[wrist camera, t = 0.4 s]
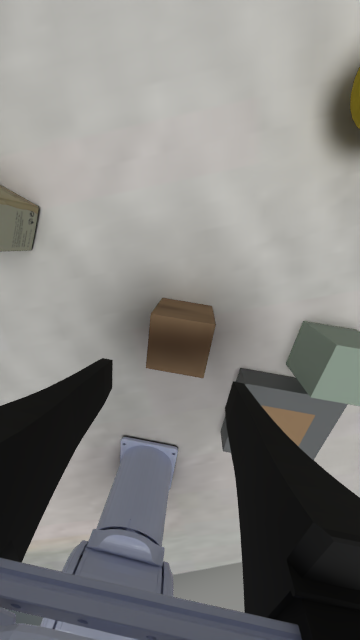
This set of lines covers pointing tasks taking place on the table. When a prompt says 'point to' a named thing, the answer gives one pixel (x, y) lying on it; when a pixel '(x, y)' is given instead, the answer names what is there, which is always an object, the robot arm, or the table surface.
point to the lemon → (356, 100)
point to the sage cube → (327, 362)
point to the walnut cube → (180, 337)
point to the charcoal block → (290, 409)
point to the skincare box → (16, 221)
